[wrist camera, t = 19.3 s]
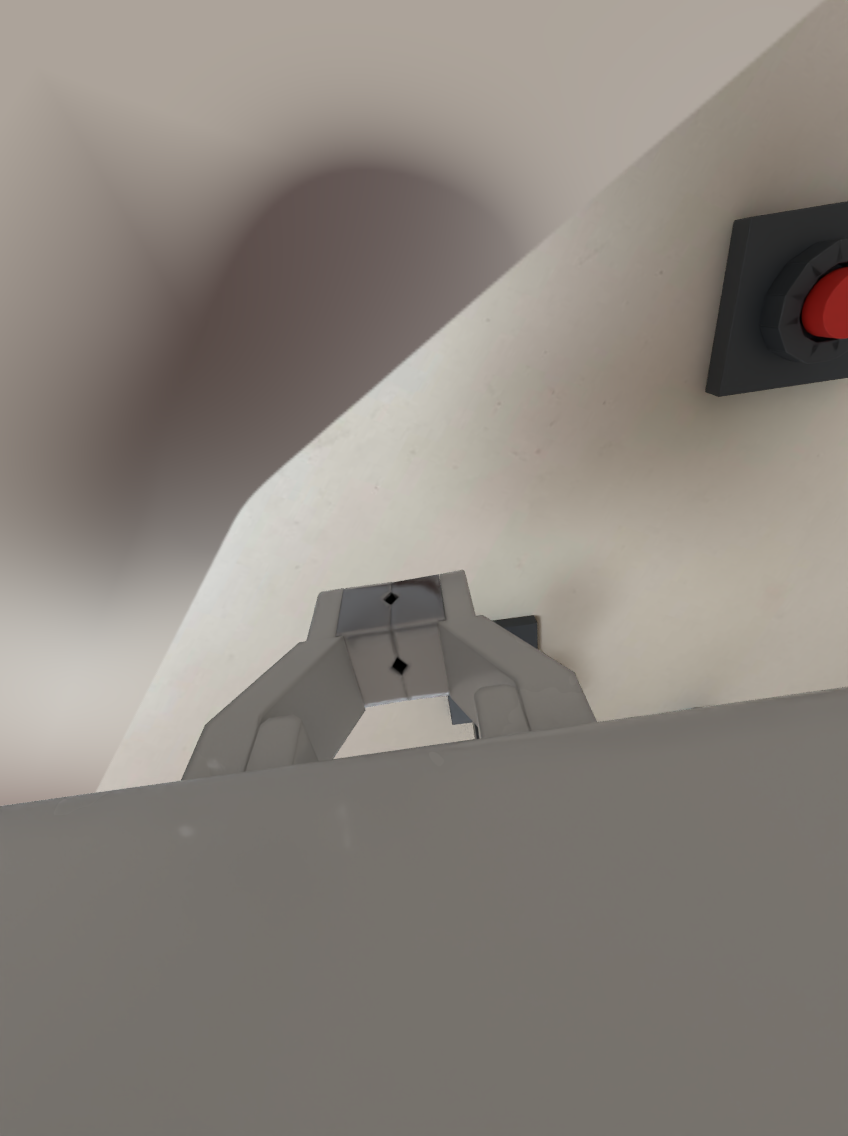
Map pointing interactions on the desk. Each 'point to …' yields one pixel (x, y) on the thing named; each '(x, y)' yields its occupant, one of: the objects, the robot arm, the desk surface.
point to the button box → (777, 302)
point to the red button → (828, 306)
